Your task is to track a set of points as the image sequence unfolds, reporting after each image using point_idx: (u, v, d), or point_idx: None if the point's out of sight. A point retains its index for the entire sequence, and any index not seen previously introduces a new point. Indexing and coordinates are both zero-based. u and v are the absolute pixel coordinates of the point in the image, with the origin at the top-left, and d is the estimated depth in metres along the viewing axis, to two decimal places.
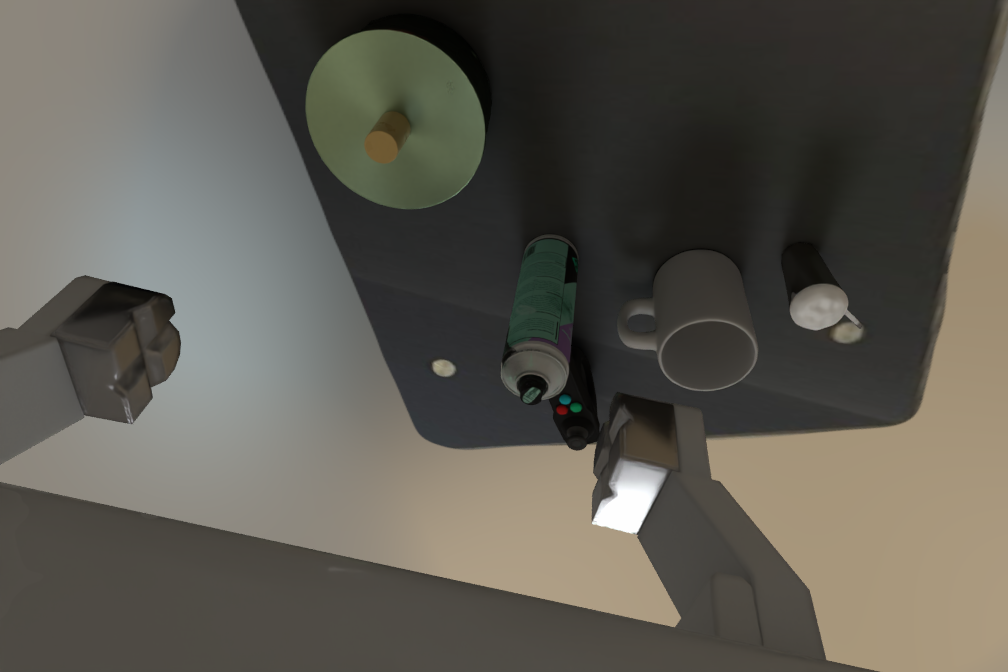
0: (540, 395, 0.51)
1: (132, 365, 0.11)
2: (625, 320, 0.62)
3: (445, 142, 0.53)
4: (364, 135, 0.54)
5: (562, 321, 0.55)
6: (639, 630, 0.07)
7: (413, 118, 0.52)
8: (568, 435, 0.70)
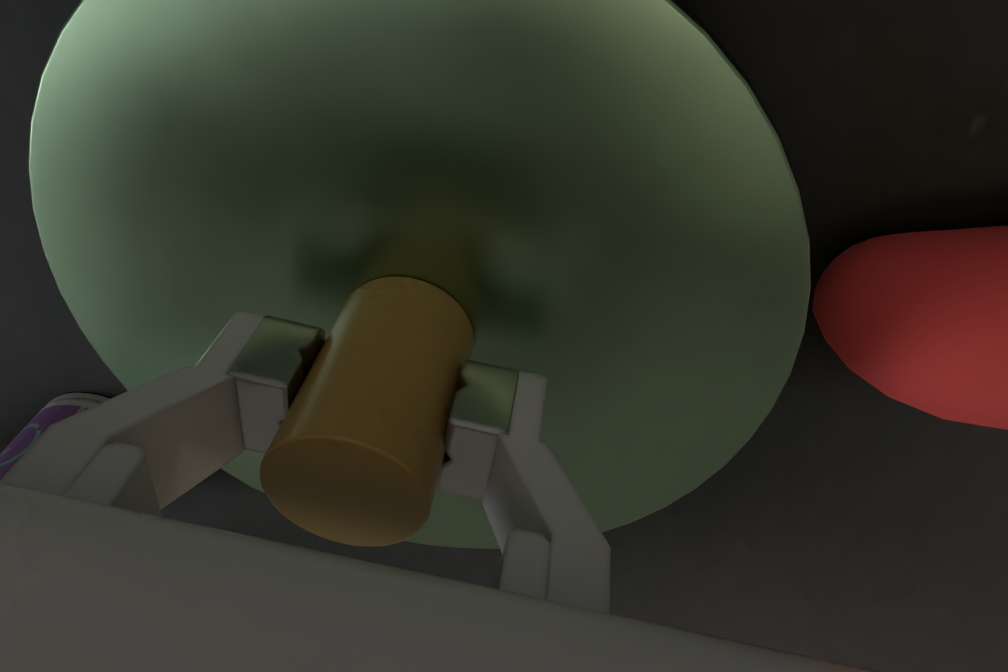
0: None
1: None
2: None
3: None
4: (347, 207, 0.11)
5: None
6: (639, 630, 0.07)
7: None
8: None
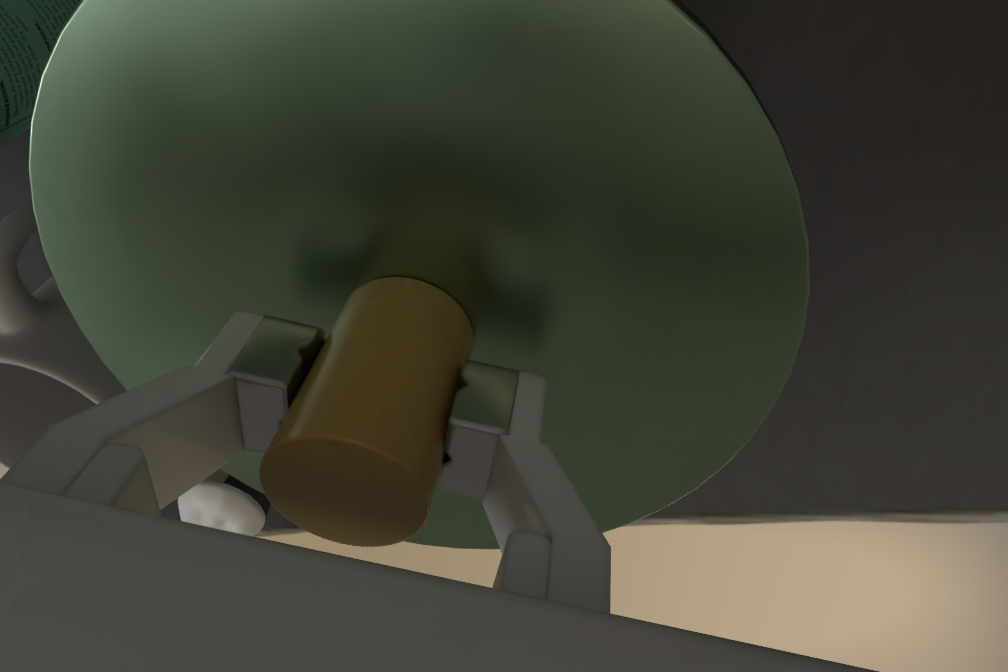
0: None
1: None
2: (35, 231, 0.27)
3: None
4: (347, 207, 0.11)
5: None
6: (639, 630, 0.07)
7: None
8: None
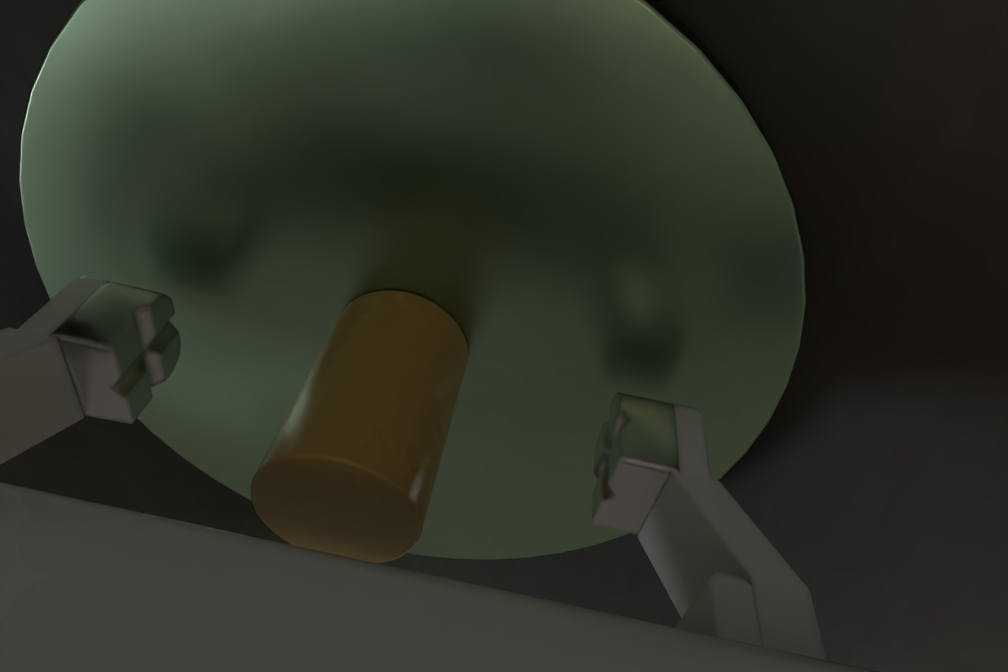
0: None
1: (132, 365, 0.11)
2: None
3: None
4: (339, 222, 0.11)
5: None
6: (639, 630, 0.07)
7: None
8: None
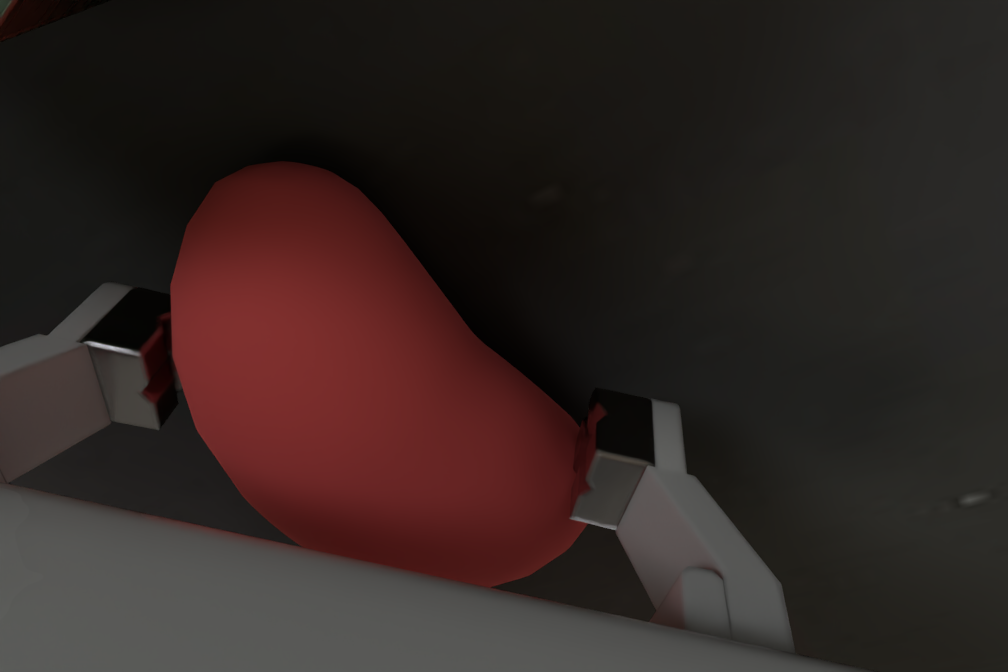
0: None
1: (159, 371, 0.11)
2: None
3: None
4: None
5: None
6: (639, 630, 0.07)
7: None
8: None
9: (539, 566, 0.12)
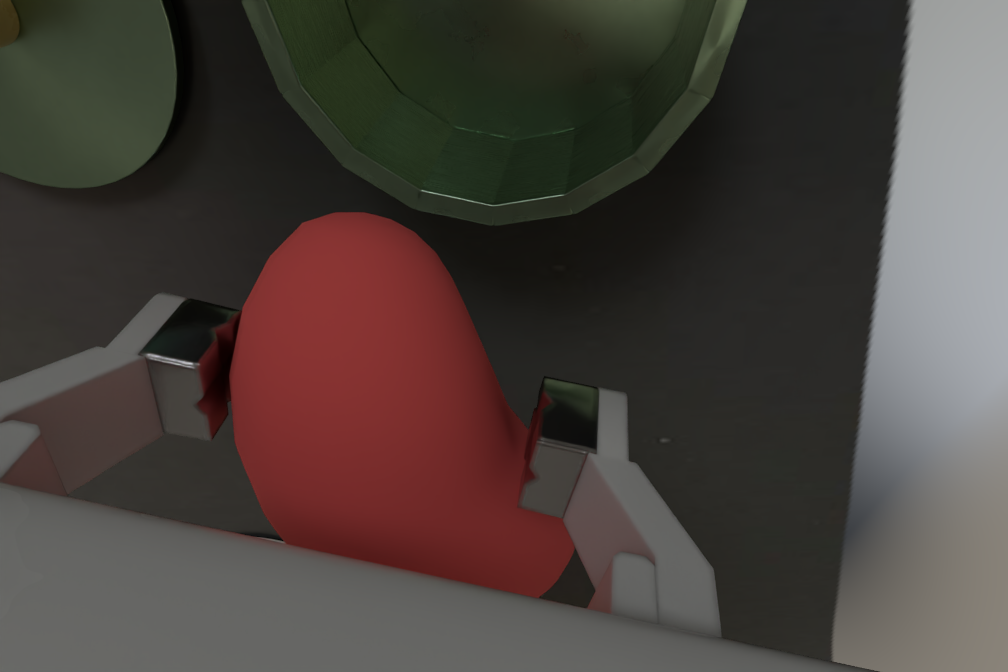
0: None
1: (212, 382, 0.11)
2: None
3: None
4: None
5: None
6: (639, 630, 0.07)
7: None
8: None
9: None
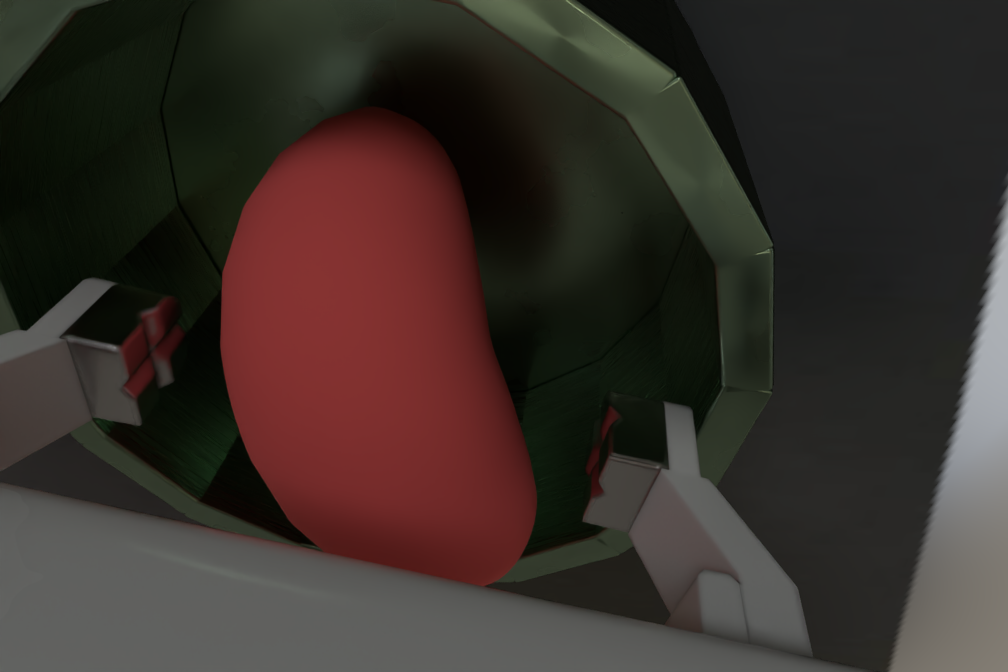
0: None
1: (141, 367, 0.11)
2: None
3: None
4: None
5: None
6: (639, 630, 0.07)
7: None
8: None
9: (455, 570, 0.12)
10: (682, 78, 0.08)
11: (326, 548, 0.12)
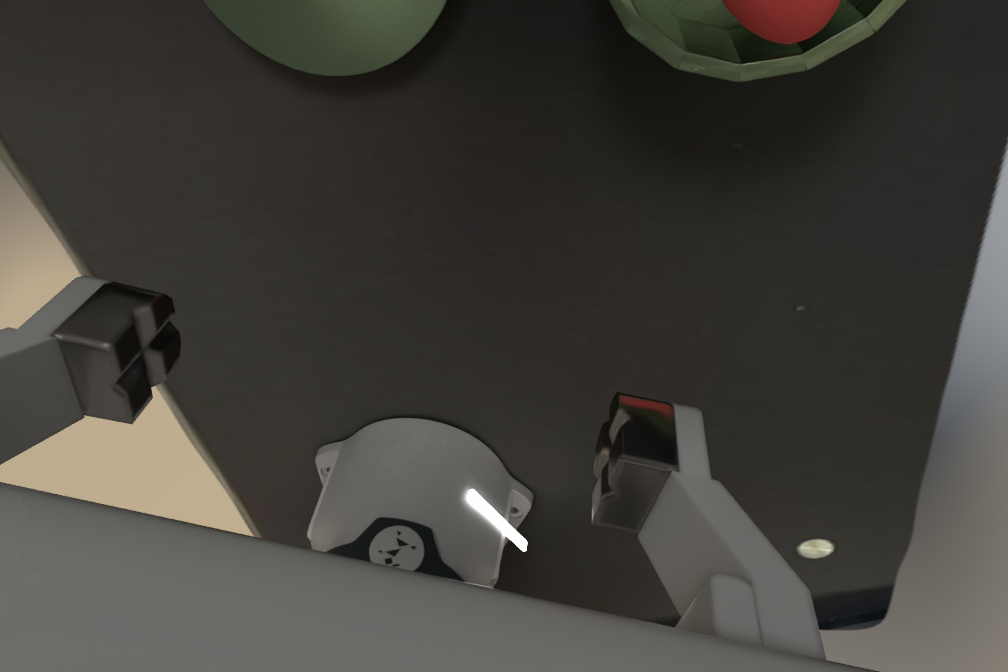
0: None
1: (132, 365, 0.11)
2: None
3: None
4: None
5: None
6: (639, 630, 0.07)
7: None
8: None
9: None
10: None
11: None
